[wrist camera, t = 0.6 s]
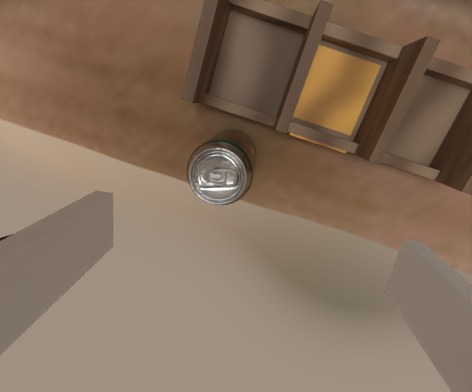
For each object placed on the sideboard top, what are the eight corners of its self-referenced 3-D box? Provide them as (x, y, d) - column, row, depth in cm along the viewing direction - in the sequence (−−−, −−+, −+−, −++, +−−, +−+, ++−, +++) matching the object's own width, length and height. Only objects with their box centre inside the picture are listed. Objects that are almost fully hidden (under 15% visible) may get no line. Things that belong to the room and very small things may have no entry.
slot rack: (197, 103, 31) (180, 101, 24) (224, -4, 27) (213, -36, 21) (428, 179, 31) (470, 197, 25) (481, 82, 28) (546, 75, 21)
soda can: (212, 127, 31) (183, 138, 20) (258, 131, 31) (255, 145, 20) (210, 171, 33) (182, 206, 21) (253, 176, 32) (248, 213, 21)
